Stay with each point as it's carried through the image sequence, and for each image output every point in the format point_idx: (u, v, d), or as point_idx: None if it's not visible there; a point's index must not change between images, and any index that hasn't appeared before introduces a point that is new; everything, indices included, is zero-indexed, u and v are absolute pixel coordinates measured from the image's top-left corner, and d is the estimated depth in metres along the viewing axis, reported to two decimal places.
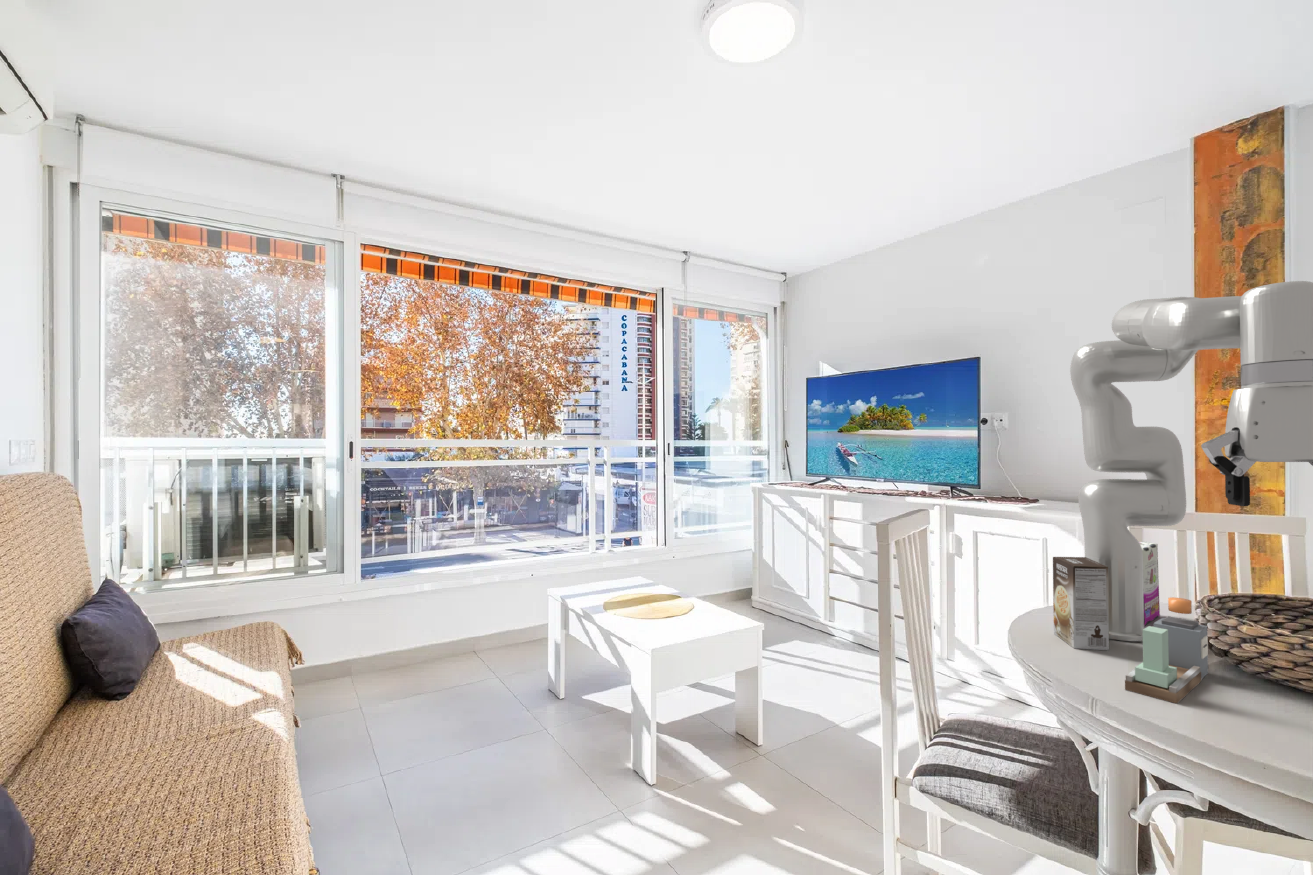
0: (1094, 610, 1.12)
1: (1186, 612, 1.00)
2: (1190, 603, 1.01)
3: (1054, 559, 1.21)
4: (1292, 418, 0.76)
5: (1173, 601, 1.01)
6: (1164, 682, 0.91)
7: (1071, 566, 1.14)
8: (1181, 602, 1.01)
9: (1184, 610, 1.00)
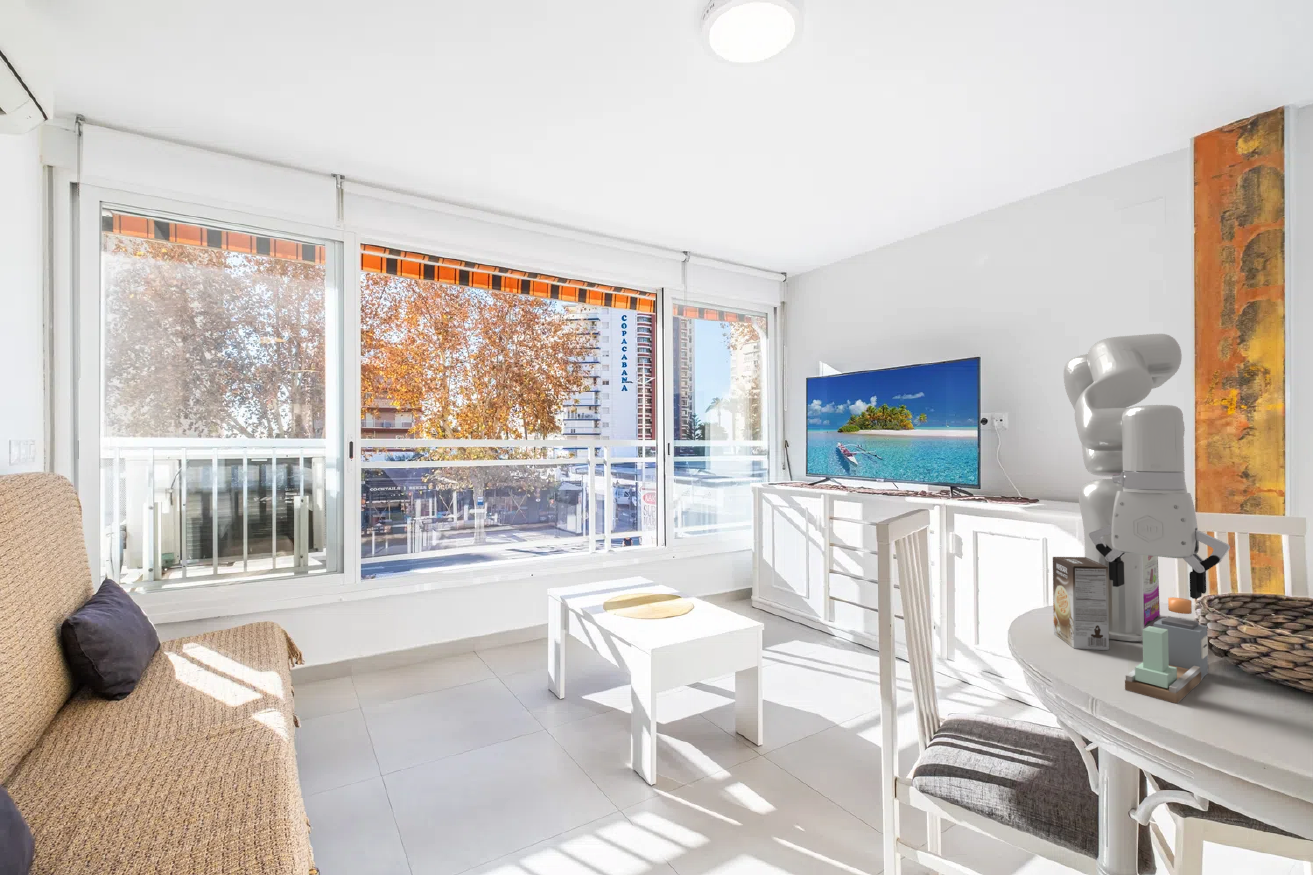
0: (1094, 610, 1.12)
1: (1186, 612, 1.00)
2: (1190, 603, 1.01)
3: (1054, 559, 1.21)
4: None
5: (1173, 601, 1.01)
6: (1164, 682, 0.91)
7: (1071, 566, 1.14)
8: (1181, 602, 1.01)
9: (1184, 610, 1.00)
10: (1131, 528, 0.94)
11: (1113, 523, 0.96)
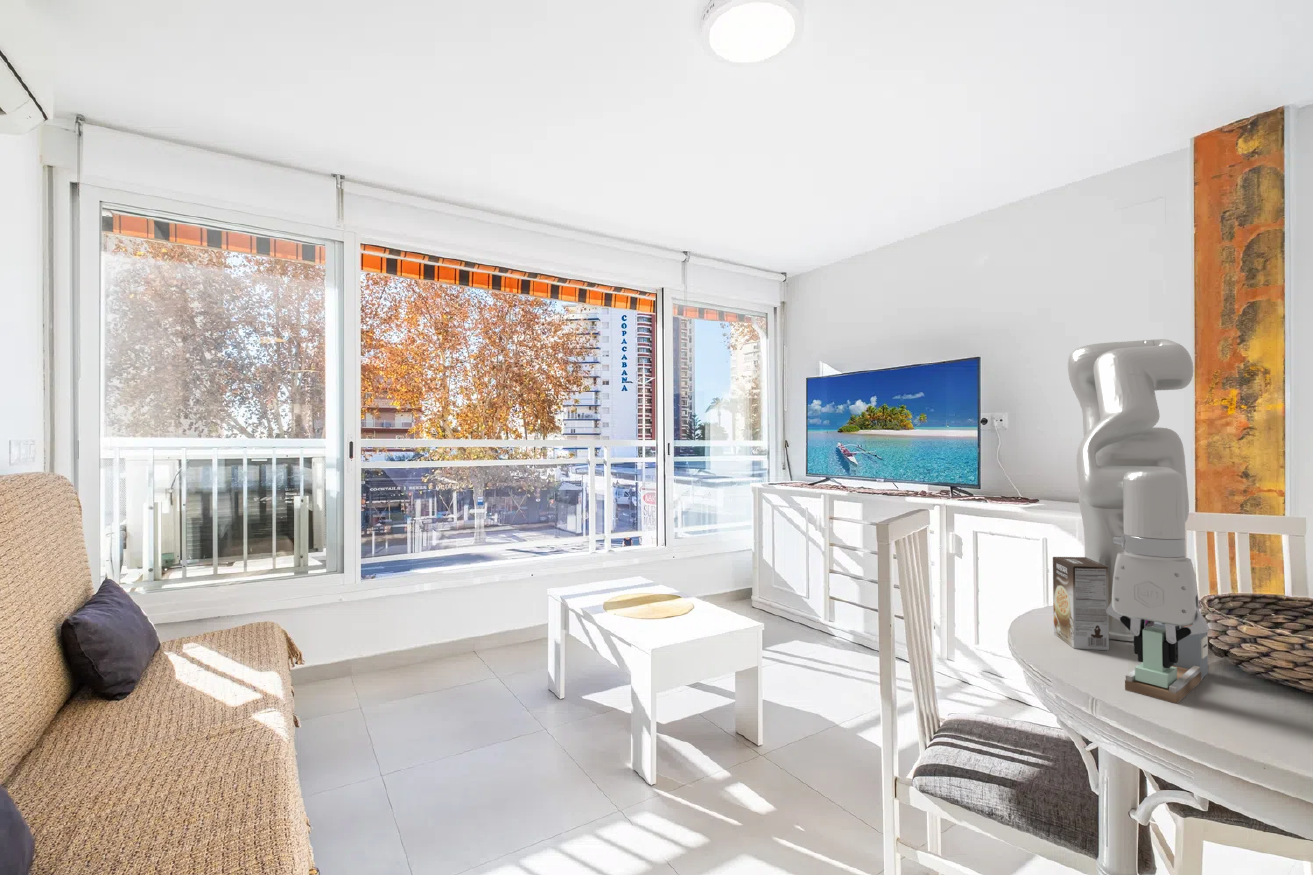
0: (1094, 610, 1.12)
1: None
2: None
3: (1054, 559, 1.21)
4: None
5: None
6: (1164, 682, 0.91)
7: (1071, 566, 1.14)
8: None
9: None
10: (1132, 592, 0.94)
11: (1114, 586, 0.96)
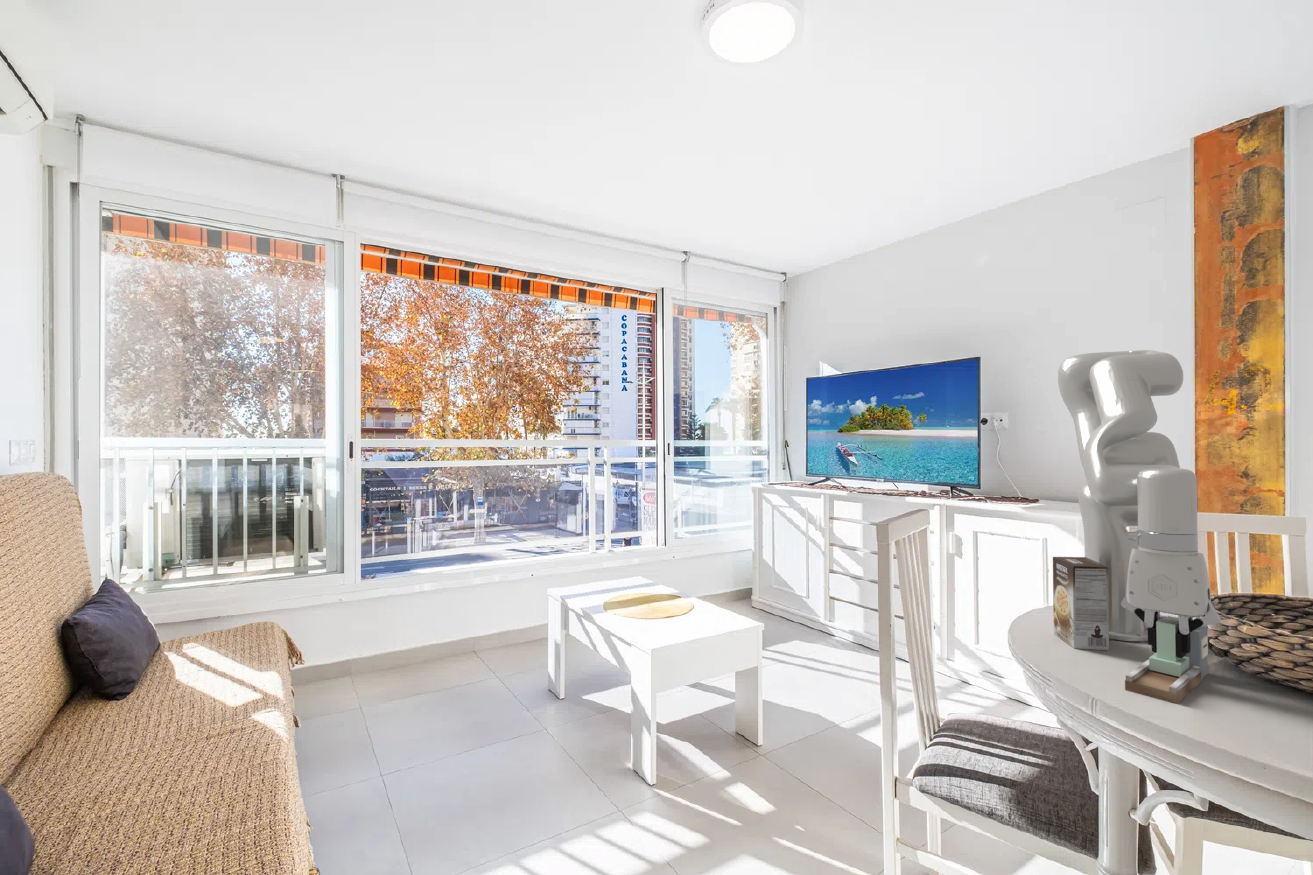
0: (1094, 610, 1.12)
1: None
2: None
3: (1054, 559, 1.21)
4: None
5: None
6: (1177, 671, 0.95)
7: (1071, 566, 1.14)
8: None
9: None
10: (1146, 585, 0.98)
11: (1128, 579, 1.00)
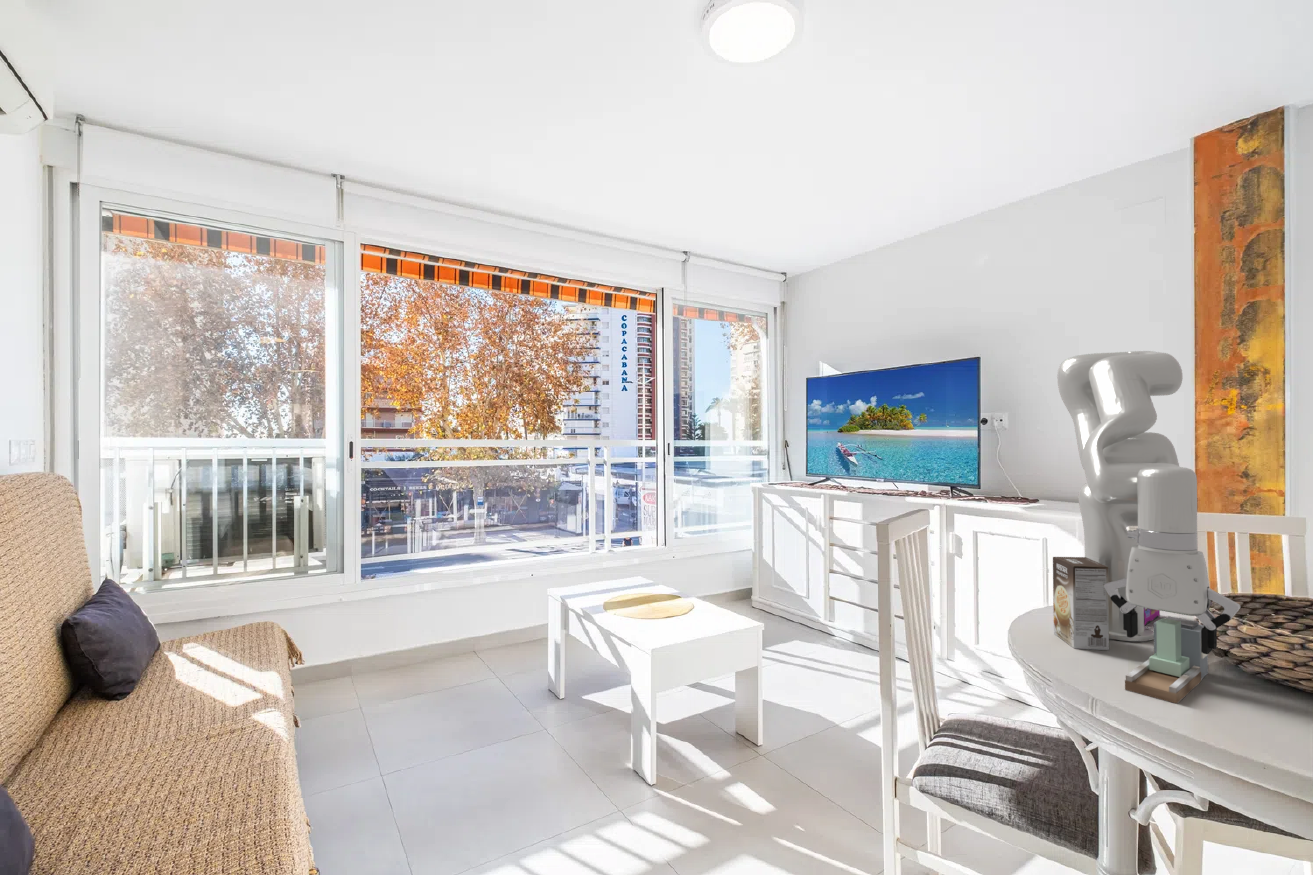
0: (1094, 610, 1.12)
1: None
2: None
3: (1054, 559, 1.21)
4: None
5: None
6: (1177, 671, 0.95)
7: (1071, 566, 1.14)
8: None
9: None
10: (1145, 584, 0.98)
11: (1128, 578, 1.00)
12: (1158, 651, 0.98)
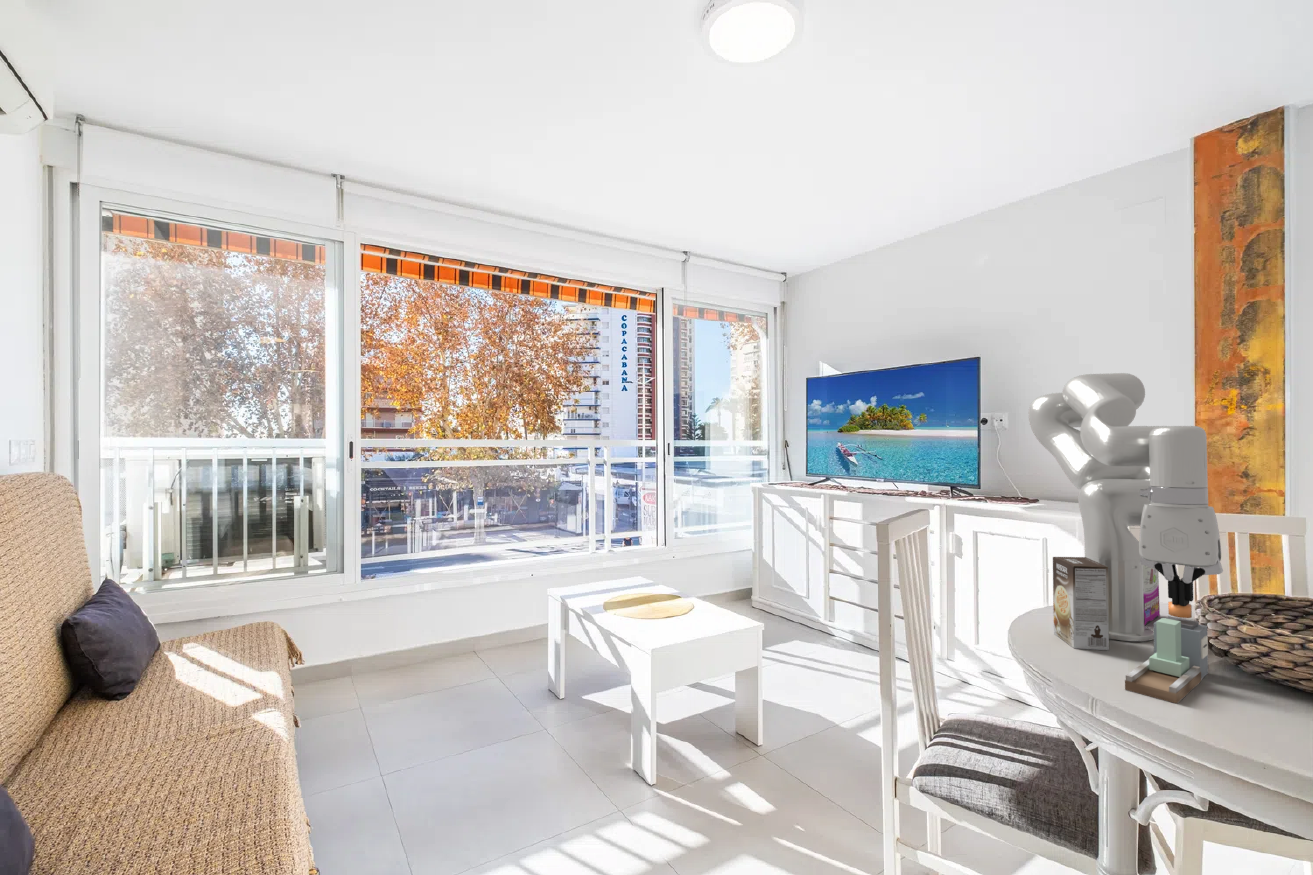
0: (1094, 610, 1.12)
1: (1186, 616, 1.00)
2: (1190, 607, 1.01)
3: (1054, 559, 1.21)
4: None
5: (1173, 605, 1.01)
6: (1177, 671, 0.95)
7: (1071, 566, 1.14)
8: (1181, 606, 1.01)
9: (1184, 614, 1.00)
10: (1158, 539, 1.02)
11: (1141, 534, 1.04)
12: (1158, 651, 0.98)
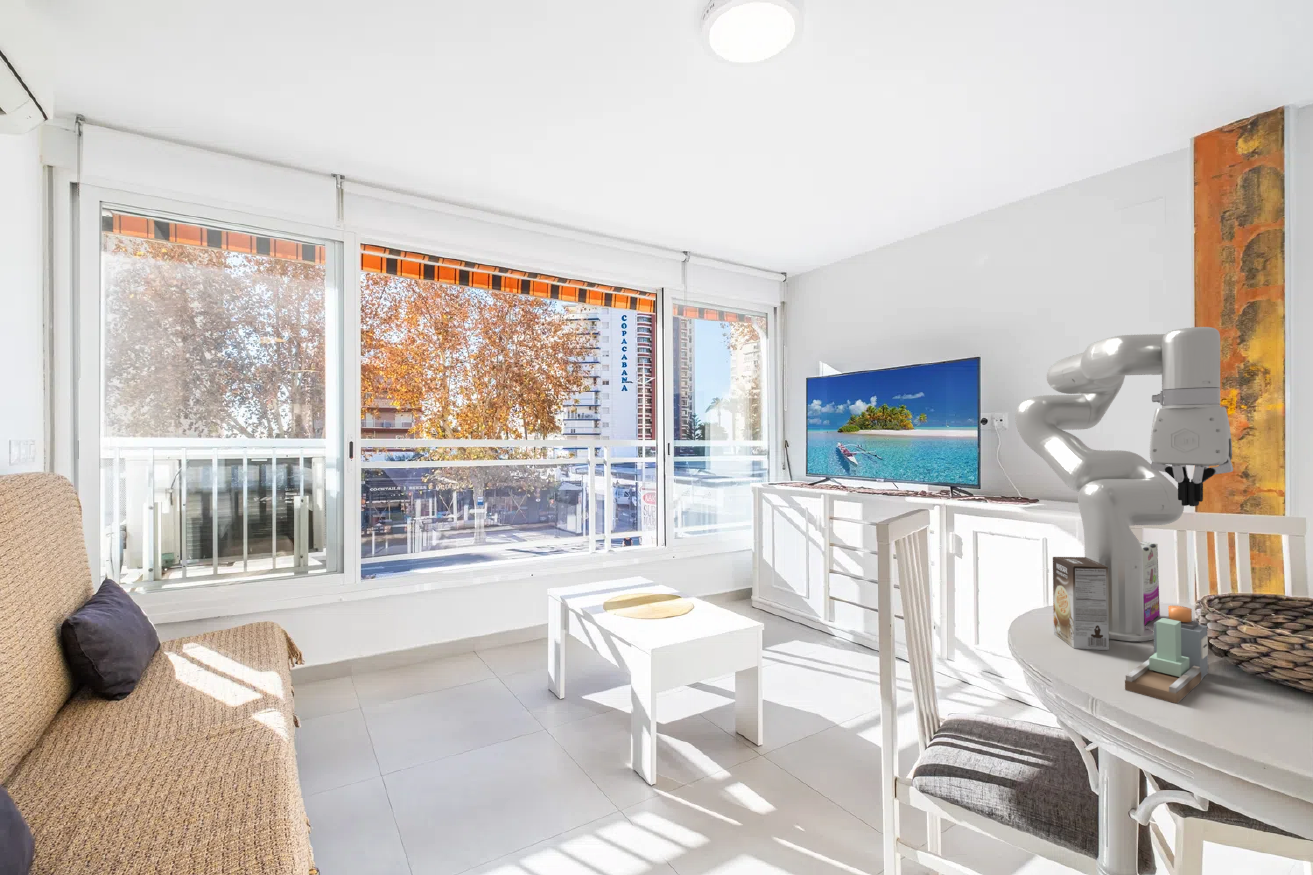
0: (1094, 610, 1.12)
1: (1186, 620, 1.00)
2: (1190, 611, 1.01)
3: (1054, 559, 1.21)
4: None
5: (1173, 609, 1.01)
6: (1177, 671, 0.95)
7: (1071, 566, 1.14)
8: (1181, 610, 1.01)
9: (1184, 618, 1.00)
10: (1169, 441, 1.03)
11: (1152, 438, 1.05)
12: (1158, 651, 0.98)
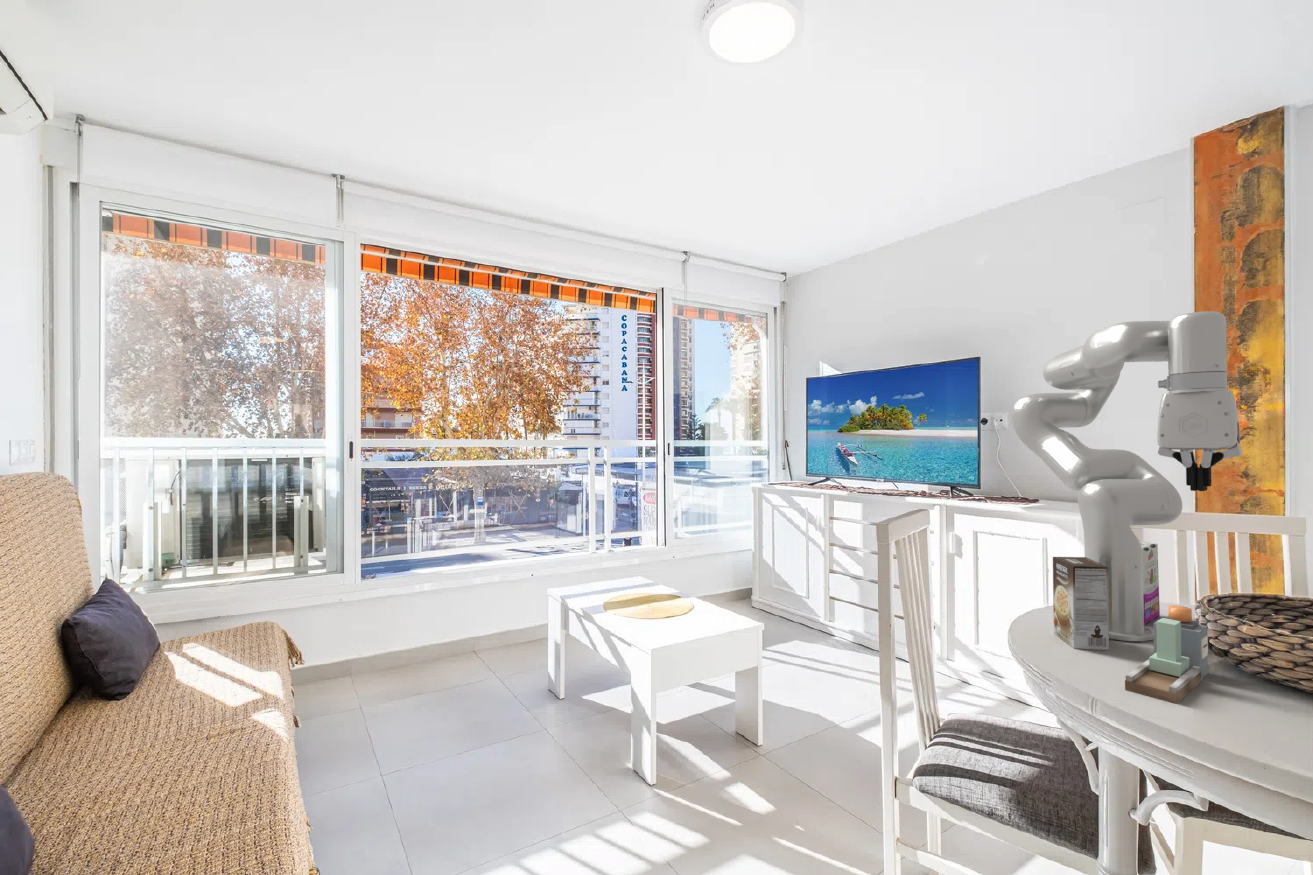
0: (1094, 610, 1.12)
1: (1186, 620, 1.00)
2: (1190, 611, 1.01)
3: (1054, 559, 1.21)
4: None
5: (1173, 609, 1.01)
6: (1177, 671, 0.95)
7: (1071, 566, 1.14)
8: (1181, 610, 1.01)
9: (1184, 618, 1.00)
10: (1176, 426, 1.02)
11: (1159, 423, 1.05)
12: (1158, 651, 0.98)
